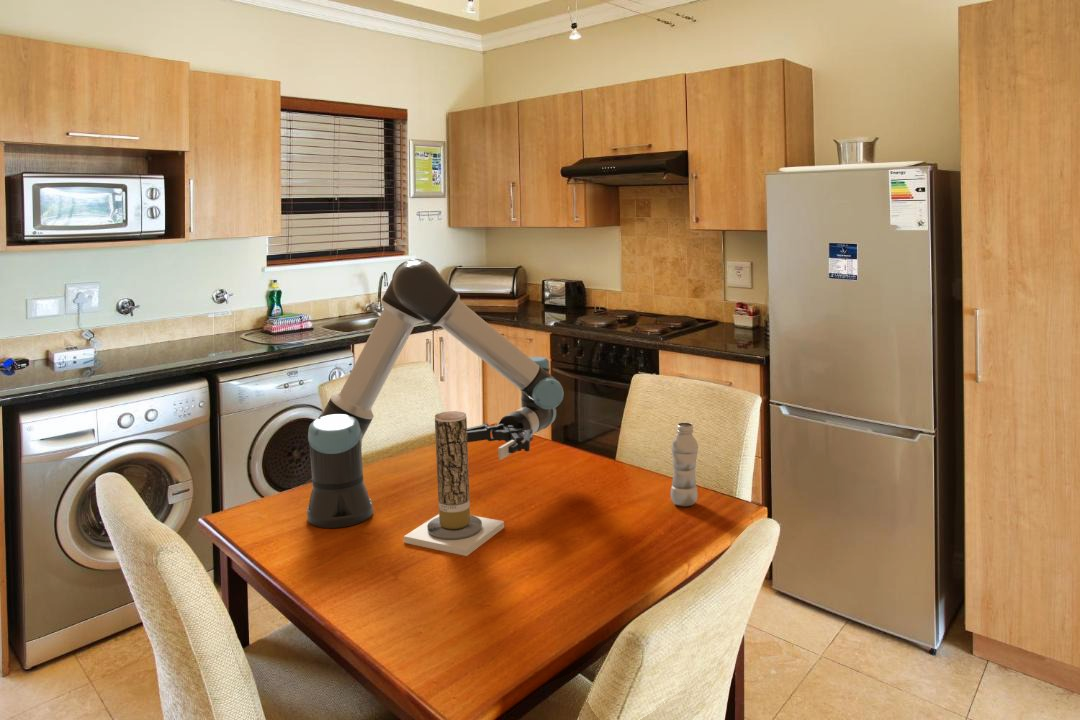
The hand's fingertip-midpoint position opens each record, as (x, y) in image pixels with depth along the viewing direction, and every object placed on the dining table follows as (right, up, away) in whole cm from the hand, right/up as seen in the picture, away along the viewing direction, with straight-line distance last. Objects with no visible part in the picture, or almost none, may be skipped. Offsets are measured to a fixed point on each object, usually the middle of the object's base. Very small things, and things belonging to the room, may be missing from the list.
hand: (473, 450), depth 174 cm
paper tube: (-4, -16, -5) cm, 17 cm away
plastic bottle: (+50, -15, +11) cm, 53 cm away
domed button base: (-4, -18, -4) cm, 19 cm away
